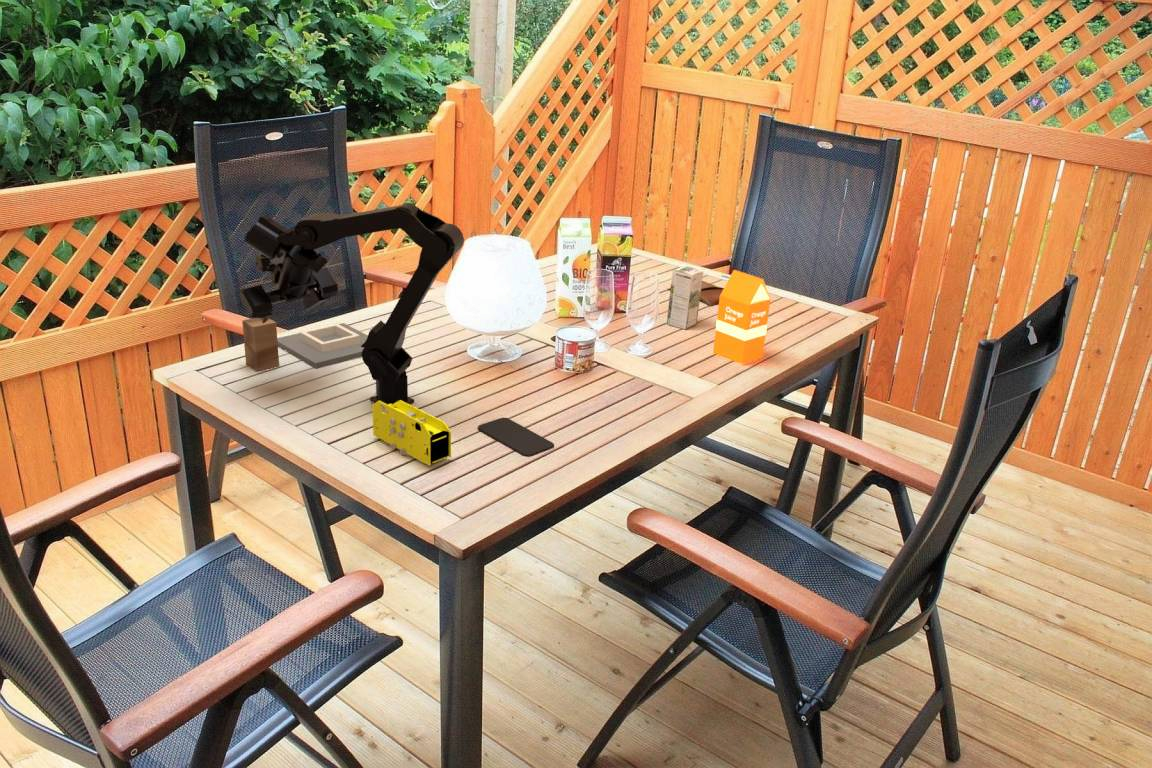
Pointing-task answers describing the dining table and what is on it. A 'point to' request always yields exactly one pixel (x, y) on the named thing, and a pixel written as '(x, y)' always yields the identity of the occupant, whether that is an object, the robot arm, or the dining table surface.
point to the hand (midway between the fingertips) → (283, 315)
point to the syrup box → (684, 297)
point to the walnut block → (260, 344)
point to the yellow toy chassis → (412, 431)
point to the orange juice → (742, 318)
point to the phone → (515, 437)
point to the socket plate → (325, 344)
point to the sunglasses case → (709, 294)
